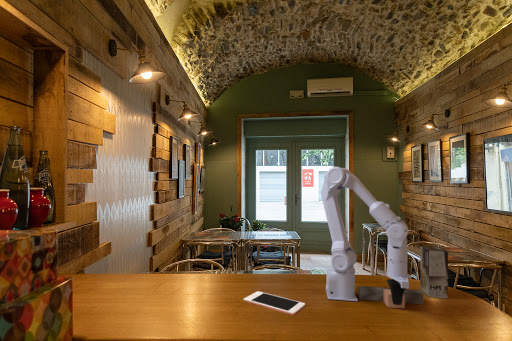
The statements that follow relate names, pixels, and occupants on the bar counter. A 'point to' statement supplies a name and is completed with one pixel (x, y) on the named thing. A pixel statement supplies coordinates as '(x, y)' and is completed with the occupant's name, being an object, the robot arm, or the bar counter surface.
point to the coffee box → (434, 271)
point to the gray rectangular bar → (377, 292)
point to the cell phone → (275, 302)
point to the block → (388, 299)
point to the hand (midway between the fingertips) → (396, 304)
